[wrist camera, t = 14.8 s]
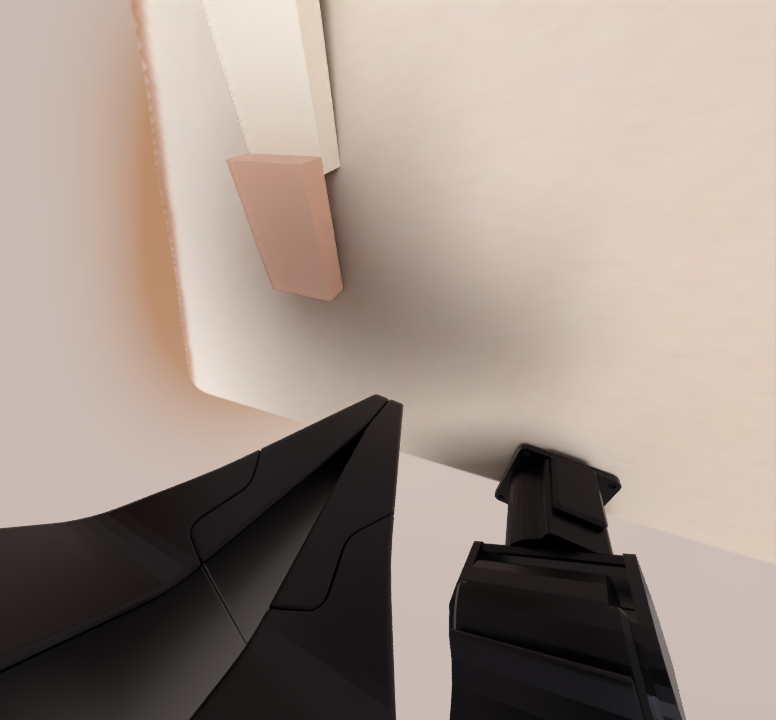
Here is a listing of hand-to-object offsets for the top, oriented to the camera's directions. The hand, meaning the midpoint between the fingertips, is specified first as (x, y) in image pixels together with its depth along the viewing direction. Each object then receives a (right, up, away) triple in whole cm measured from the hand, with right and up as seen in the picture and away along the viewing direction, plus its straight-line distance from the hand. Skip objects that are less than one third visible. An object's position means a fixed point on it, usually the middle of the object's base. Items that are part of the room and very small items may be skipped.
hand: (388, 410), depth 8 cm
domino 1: (-5, +13, +9) cm, 17 cm away
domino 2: (-6, +7, +13) cm, 16 cm away
